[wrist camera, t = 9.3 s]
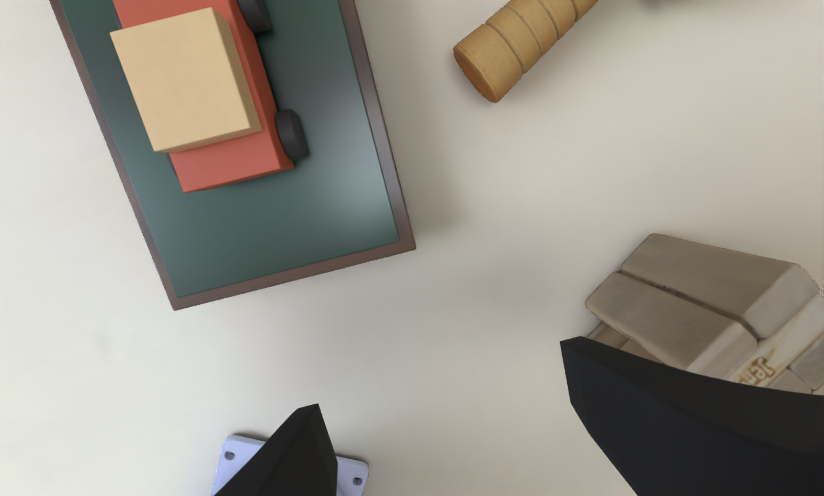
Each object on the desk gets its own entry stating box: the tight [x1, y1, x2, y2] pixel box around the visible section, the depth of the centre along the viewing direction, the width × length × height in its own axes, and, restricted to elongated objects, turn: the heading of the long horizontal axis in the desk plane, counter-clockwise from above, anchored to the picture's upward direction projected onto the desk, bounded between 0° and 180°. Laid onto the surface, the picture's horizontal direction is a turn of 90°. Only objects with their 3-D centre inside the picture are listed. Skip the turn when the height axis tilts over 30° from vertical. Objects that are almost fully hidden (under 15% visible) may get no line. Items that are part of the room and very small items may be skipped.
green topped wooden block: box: [49, 0, 416, 311], centre depth 17 cm, size 16×11×3 cm
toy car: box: [110, 0, 308, 193], centre depth 13 cm, size 7×5×4 cm, turn 14°
